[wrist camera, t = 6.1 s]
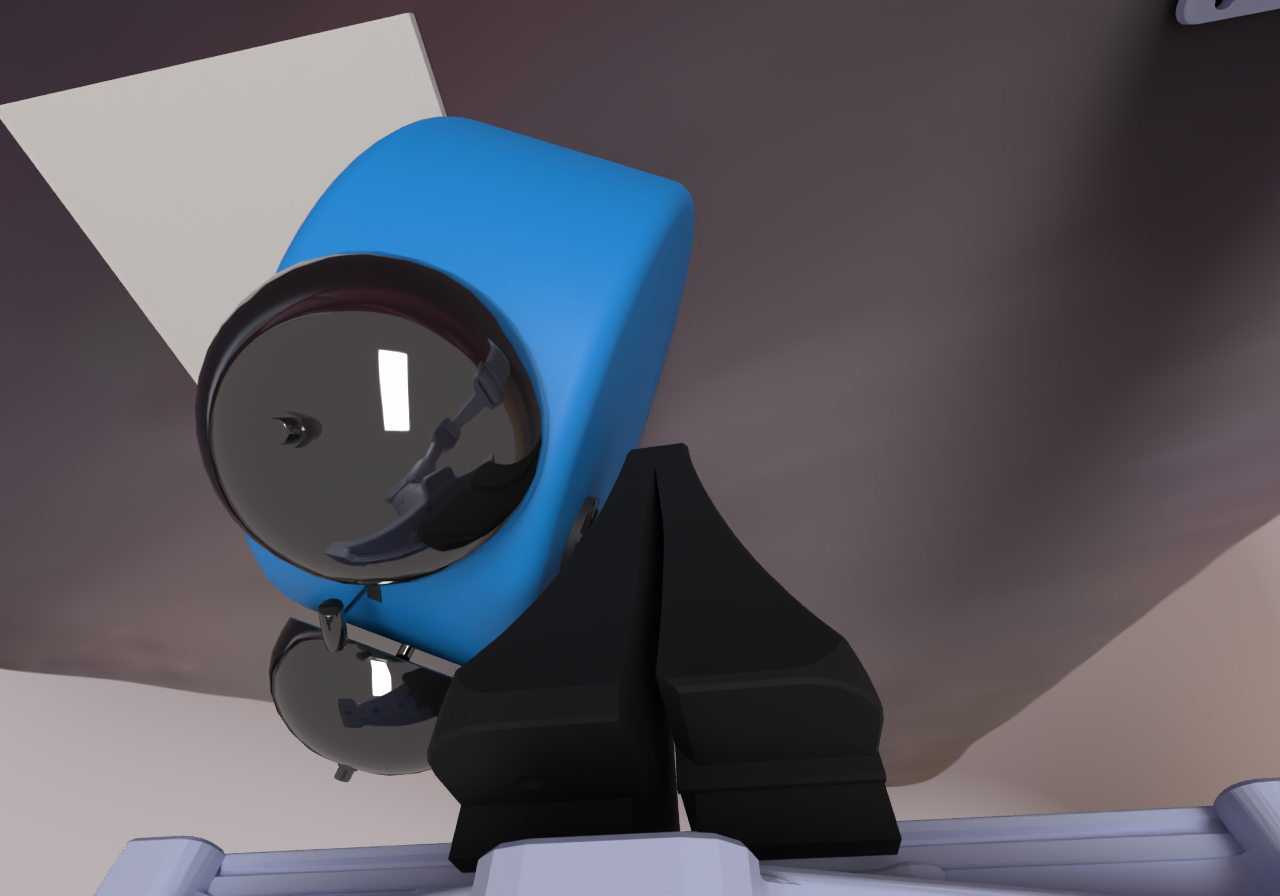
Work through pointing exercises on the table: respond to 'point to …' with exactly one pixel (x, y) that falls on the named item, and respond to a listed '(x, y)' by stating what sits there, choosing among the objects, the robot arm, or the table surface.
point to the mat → (220, 161)
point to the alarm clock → (435, 409)
